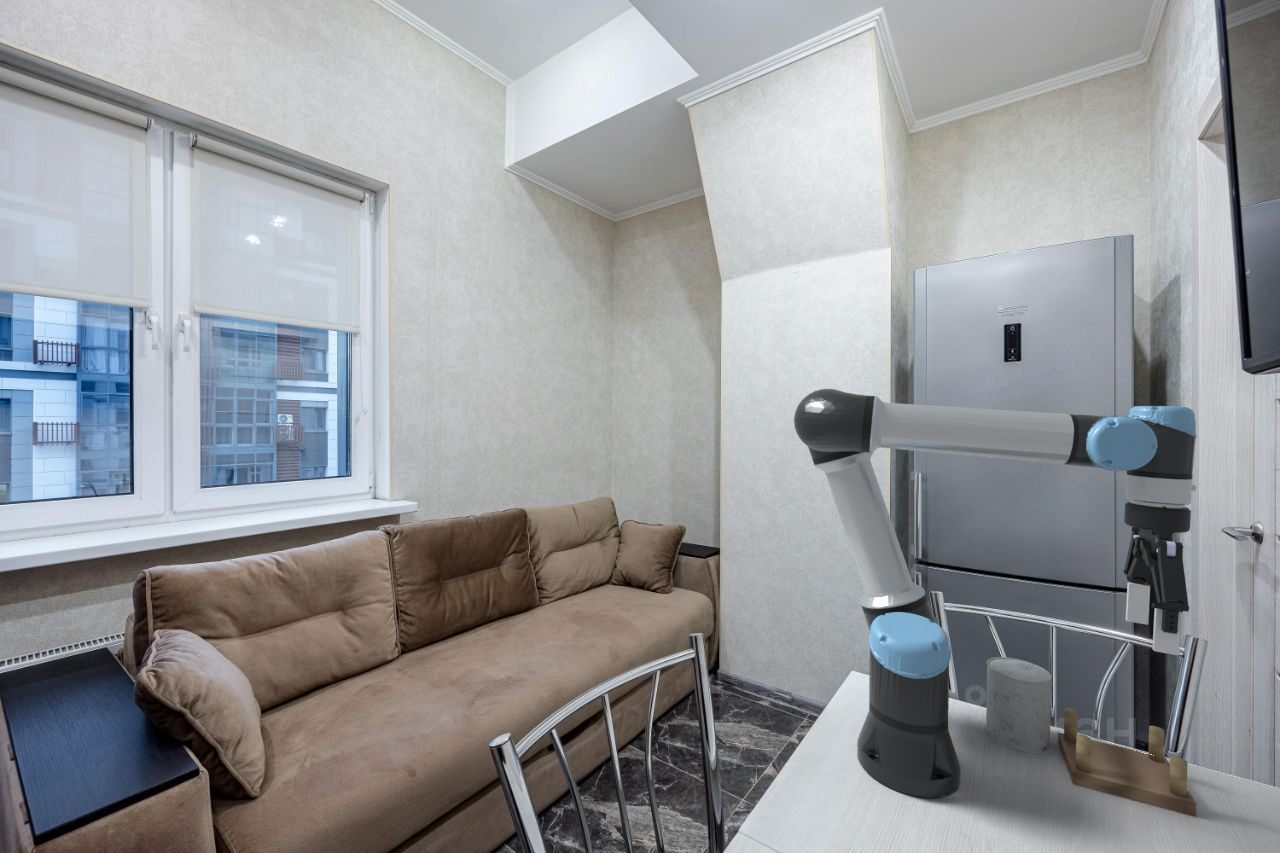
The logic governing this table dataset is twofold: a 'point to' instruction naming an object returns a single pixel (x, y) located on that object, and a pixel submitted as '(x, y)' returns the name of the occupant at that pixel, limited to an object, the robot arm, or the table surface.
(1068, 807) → the table surface
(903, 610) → the robot arm
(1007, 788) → the table surface
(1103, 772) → the peg stand
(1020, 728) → the grey marbled cylinder
